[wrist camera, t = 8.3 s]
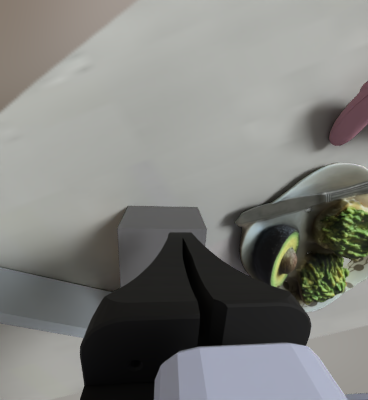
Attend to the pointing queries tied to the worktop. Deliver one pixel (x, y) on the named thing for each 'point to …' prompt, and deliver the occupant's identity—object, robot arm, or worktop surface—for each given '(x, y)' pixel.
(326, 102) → the worktop surface
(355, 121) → the video game controller
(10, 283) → the side door
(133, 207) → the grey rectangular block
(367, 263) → the salad plate
